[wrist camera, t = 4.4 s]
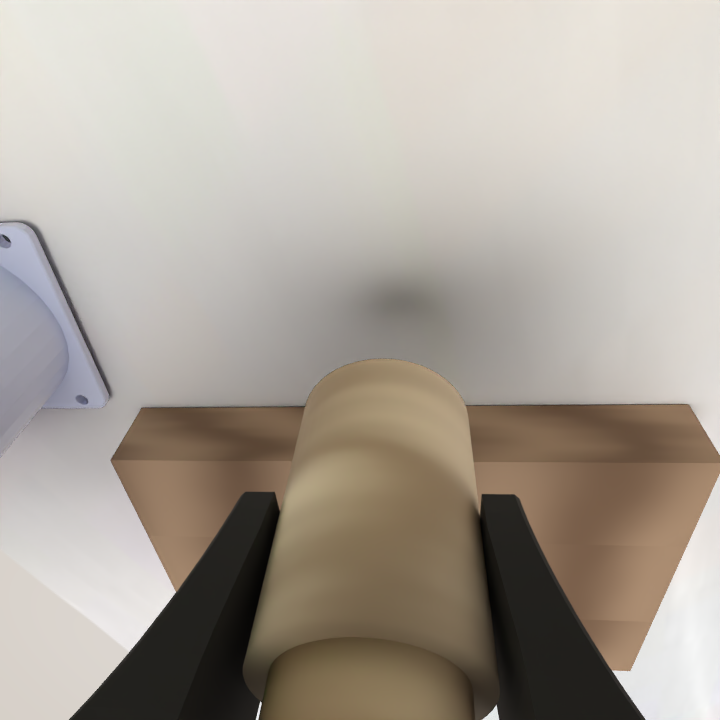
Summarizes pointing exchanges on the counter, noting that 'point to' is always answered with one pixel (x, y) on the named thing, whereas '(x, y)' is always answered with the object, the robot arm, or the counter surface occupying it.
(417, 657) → the beech peg
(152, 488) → the socket board
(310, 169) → the counter surface
